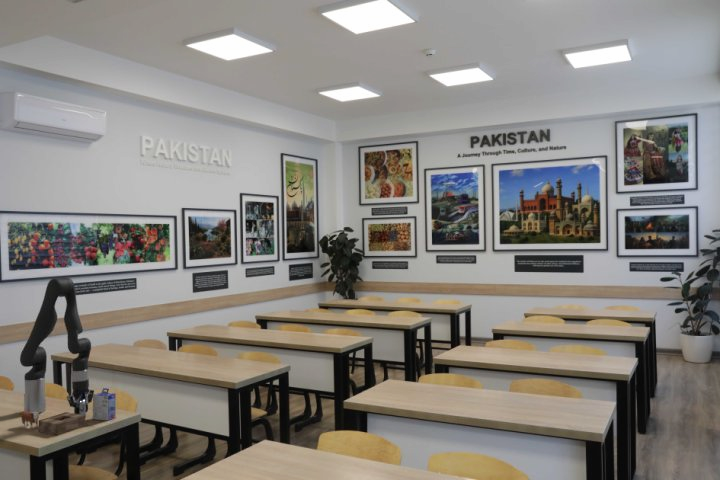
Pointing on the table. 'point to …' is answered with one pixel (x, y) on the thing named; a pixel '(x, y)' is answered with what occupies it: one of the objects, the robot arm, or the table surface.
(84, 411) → the peg
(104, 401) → the ink cartridge box
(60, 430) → the docking block
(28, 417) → the bull figurine
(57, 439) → the table surface
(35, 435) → the table surface
